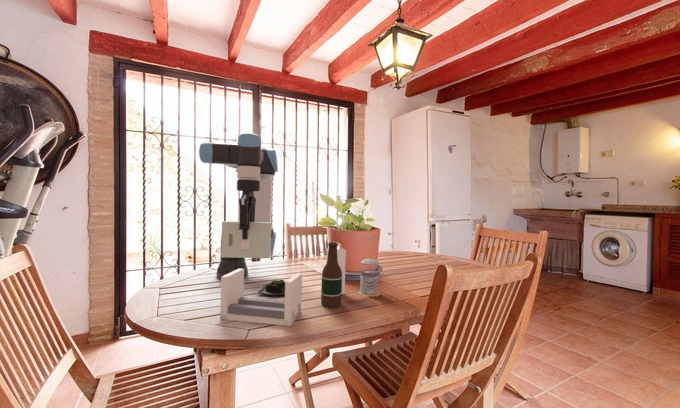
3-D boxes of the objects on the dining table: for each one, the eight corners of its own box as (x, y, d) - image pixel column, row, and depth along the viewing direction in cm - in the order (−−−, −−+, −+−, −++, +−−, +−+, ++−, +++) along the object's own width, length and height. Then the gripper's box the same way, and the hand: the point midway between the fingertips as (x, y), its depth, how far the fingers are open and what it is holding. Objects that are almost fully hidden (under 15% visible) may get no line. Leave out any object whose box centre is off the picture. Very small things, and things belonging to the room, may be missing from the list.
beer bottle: (345, 305, 117) (347, 243, 117) (330, 310, 112) (332, 244, 111) (331, 300, 123) (333, 240, 122) (316, 304, 117) (318, 242, 117)
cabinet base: (220, 318, 101) (221, 276, 100) (238, 306, 113) (239, 268, 112) (290, 326, 97) (291, 282, 97) (300, 312, 109) (302, 273, 108)
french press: (353, 292, 133) (354, 235, 133) (373, 288, 140) (375, 234, 140) (367, 299, 125) (369, 238, 125) (388, 294, 132) (390, 236, 131)
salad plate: (256, 285, 140) (256, 275, 140) (294, 283, 146) (295, 273, 146) (257, 299, 122) (258, 287, 122) (302, 296, 127) (302, 285, 127)
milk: (333, 296, 127) (334, 244, 126) (325, 292, 132) (326, 241, 131) (344, 294, 131) (346, 242, 130) (336, 290, 136) (337, 240, 135)
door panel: (270, 256, 107) (271, 222, 107) (268, 258, 104) (269, 223, 103) (224, 255, 106) (225, 221, 106) (221, 257, 103) (221, 221, 103)
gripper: (244, 180, 112) (242, 244, 113) (229, 177, 96) (228, 251, 97) (264, 181, 113) (262, 244, 113) (253, 178, 97) (251, 252, 97)
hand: (246, 247), depth 105 cm, fingers closed on door panel, 3 cm apart
